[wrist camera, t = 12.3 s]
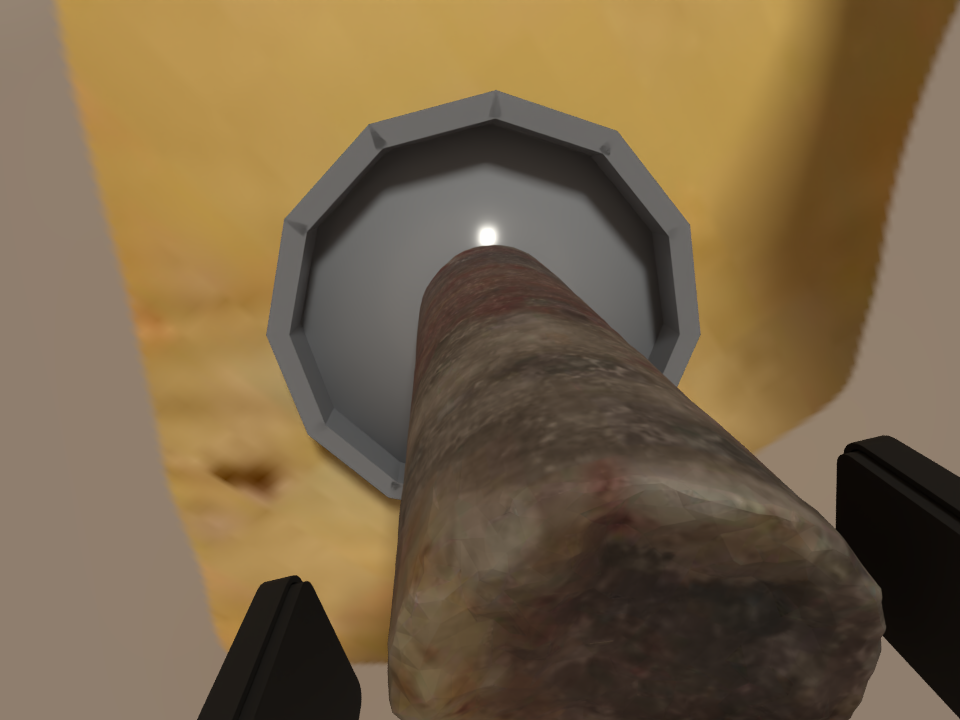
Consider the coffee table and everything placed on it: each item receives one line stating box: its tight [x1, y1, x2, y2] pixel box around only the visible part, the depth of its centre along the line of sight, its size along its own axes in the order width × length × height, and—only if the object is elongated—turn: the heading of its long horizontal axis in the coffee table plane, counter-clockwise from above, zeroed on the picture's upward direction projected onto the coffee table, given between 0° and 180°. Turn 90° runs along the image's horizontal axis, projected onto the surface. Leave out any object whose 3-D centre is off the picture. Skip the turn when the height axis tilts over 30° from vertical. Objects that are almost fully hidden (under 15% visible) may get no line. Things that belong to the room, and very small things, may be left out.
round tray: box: [266, 90, 700, 500], centre depth 25 cm, size 20×20×3 cm
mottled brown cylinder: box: [388, 245, 886, 720], centre depth 16 cm, size 8×7×20 cm
